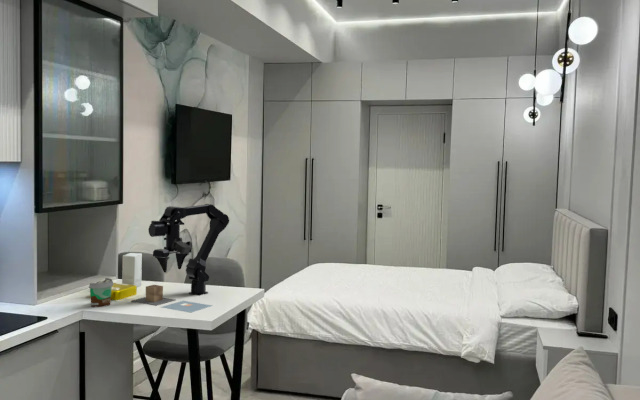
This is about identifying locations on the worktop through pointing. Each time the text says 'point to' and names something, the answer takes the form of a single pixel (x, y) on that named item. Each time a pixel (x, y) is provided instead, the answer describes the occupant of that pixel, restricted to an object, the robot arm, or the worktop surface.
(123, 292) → the element tile
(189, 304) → the card
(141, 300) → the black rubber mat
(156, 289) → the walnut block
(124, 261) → the skincare box
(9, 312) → the worktop surface
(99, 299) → the food container
